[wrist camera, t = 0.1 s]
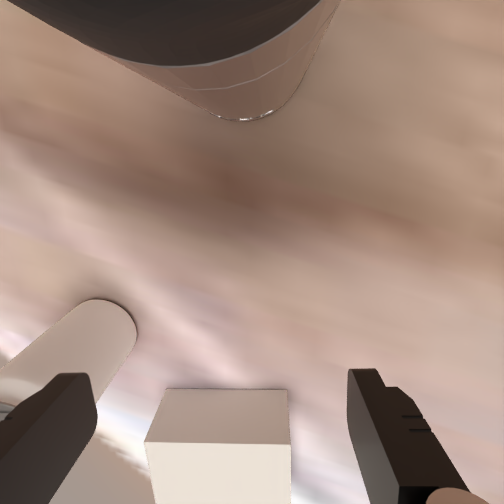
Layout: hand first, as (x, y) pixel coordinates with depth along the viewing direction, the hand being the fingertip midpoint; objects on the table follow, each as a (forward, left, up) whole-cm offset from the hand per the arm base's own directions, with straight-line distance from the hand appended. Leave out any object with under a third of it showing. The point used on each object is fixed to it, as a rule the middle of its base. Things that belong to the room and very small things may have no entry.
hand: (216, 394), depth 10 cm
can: (+8, -14, -18) cm, 24 cm away
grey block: (+21, -3, -17) cm, 28 cm away
